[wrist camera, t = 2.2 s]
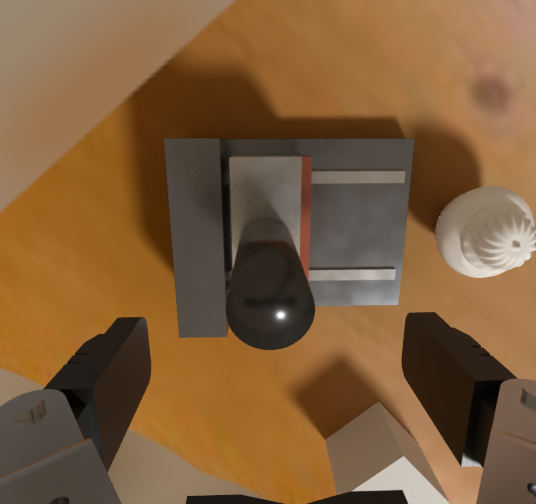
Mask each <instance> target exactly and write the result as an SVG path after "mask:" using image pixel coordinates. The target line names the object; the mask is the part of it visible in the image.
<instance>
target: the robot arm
mask: <svg viewBox="0 0 536 504" xmlns="http://www.w3.org/2000/svg"><path fill="white" fill-rule="evenodd" d="M402 369H403V374H404V376H405V379H406V381H407V382H408V384H409V385H410V387H411V388H412V390H413V392H414V393H415V395H416V396H417V398H418V399H419V401H420V403H421V404H422V406H423V407H424V409H425V410H426V412H427V414H428V415H429V417H430V418H431V420H432V421H433V423H434V425H435V426H436V428H437V429H438V431H439V433H440V434H441V436H442V437H443V439H444V440H445V442H446V444H447V445H448V447H449V448H450V450H451V451H452V453H453V455H454V456H455V458H456V459H457V461H458V462H459V464H460V466H461V467H465V466H482V467H483V473H482V478H481V483H480V488H479V493H478V498H477V503H476V504H536V381H533V380H528V379H518V378H517V377H516V376H514V375H513V374H512V373H511V372H510V371H509V370H508V369H507V368H505V367H504V366H503V365H502V364H501V363H500V362H499V361H498V360H496V359H495V358H494V357H493V356H490V353H489V352H487V351H486V350H485V349H484V348H481V345H480V344H478V343H477V342H476V341H475V340H474V339H473V338H472V337H471V336H469V335H467V334H465V333H463V332H461V331H459V330H457V329H455V328H451V327H450V326H449V325H448V324H447V323H446V322H445V321H444V320H443V319H442V318H441V317H440V316H438V315H437V314H436V313H435V312H418V313H408V314H407V317H406V320H405V330H404V340H403V350H402ZM150 376H151V358H150V348H149V339H148V329H147V322H146V319H145V318H144V317H123V318H117V319H116V321H115V322H114V323H113V324H112V325H111V327H110V328H109V329H108V330H107V331H106V333H105V334H98V335H97V336H95V337H93V338H92V339H90V340H88V341H87V342H85V343H84V344H83V345H82V346H81V347H80V348H79V349H78V351H77V352H76V353H75V355H73V356H72V357H71V358H70V360H69V361H68V362H67V364H65V365H64V366H63V367H62V369H61V370H60V371H59V372H58V373H57V374H56V375H55V376H54V378H53V379H52V380H51V381H50V382H49V383H48V384H47V385H46V387H45V388H44V389H43V390H36V391H32V392H28V393H25V394H22V395H20V396H17V397H15V398H13V399H11V400H10V401H8V402H6V403H5V404H3V405H2V406H0V504H121V502H120V500H119V497H118V495H117V493H116V491H115V489H114V487H113V484H112V482H111V480H110V478H109V476H108V474H107V473H108V470H109V468H110V466H111V464H112V461H113V460H114V457H115V455H116V453H117V451H118V449H119V447H120V445H121V442H122V440H123V438H124V436H125V434H126V432H127V429H128V427H129V425H130V423H131V421H132V419H133V417H134V414H135V412H136V410H137V408H138V406H139V404H140V401H141V399H142V397H143V395H144V393H145V391H146V389H147V386H148V384H149V381H150ZM186 504H283V503H278V502H273V501H269V500H264V499H259V498H254V497H249V496H245V495H211V496H210V495H209V496H187V500H186ZM308 504H408V502H407V499H406V497H405V494H404V492H403V490H380V491H350V492H346V493H343V494H339V495H336V496H332V497H329V498H325V499H322V500H318V501H315V502H311V503H308Z"/></svg>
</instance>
